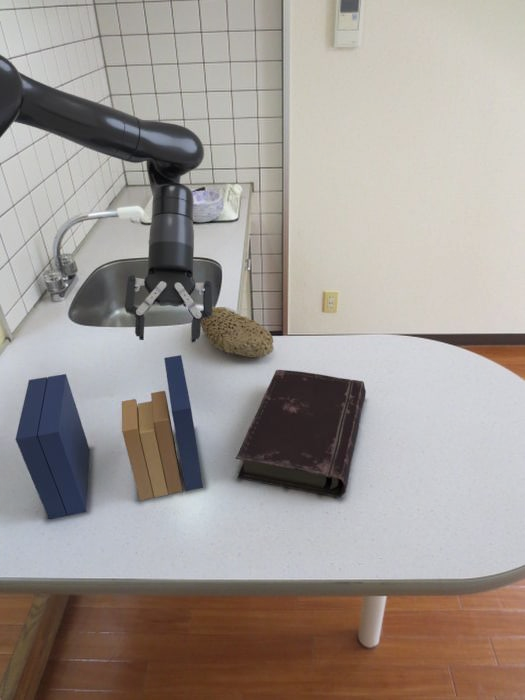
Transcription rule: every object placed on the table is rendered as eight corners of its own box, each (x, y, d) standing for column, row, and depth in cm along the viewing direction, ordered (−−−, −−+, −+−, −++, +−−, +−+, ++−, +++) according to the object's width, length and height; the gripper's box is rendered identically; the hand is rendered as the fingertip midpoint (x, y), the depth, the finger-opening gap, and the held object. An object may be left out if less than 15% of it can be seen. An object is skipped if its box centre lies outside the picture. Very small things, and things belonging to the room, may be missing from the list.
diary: (365, 400, 102) (367, 380, 99) (345, 500, 82) (347, 478, 79) (272, 387, 106) (271, 367, 104) (232, 478, 87) (230, 456, 84)
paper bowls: (181, 227, 183) (178, 205, 179) (183, 212, 196) (180, 191, 191) (224, 224, 184) (223, 202, 179) (224, 209, 196) (222, 188, 192)
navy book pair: (48, 519, 81) (15, 439, 72) (56, 456, 93) (28, 379, 83) (86, 511, 82) (58, 431, 73) (89, 450, 94) (66, 373, 84)
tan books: (139, 500, 84) (121, 428, 75) (138, 469, 89) (120, 398, 81) (182, 491, 85) (168, 419, 76) (178, 461, 91) (165, 390, 82)
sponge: (196, 336, 126) (220, 365, 108) (196, 305, 123) (221, 329, 106) (247, 333, 130) (279, 361, 113) (249, 303, 128) (281, 326, 111)
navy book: (186, 491, 85) (171, 411, 75) (177, 433, 96) (164, 357, 87) (203, 487, 85) (190, 407, 76) (192, 430, 97) (181, 354, 87)
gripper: (127, 235, 84) (122, 335, 82) (216, 243, 87) (213, 339, 85) (129, 249, 91) (124, 342, 89) (210, 256, 94) (208, 345, 92)
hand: (167, 340), depth 87 cm, fingers open, 8 cm apart
